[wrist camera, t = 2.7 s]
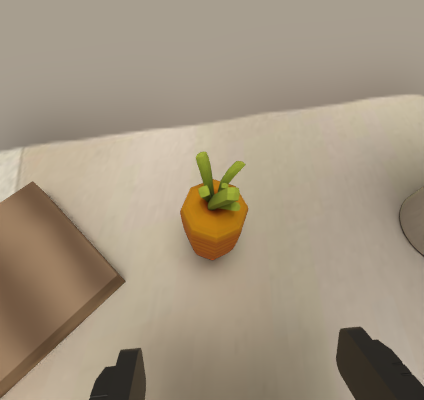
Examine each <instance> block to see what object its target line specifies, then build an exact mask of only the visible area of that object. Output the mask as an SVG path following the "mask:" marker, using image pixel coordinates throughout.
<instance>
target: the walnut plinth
mask: <svg viewBox="0 0 424 400" xmlns="http://www.w3.org/2000/svg"><path fill="white" fill-rule="evenodd" d="M124 282H125V280H124V279H123V278H122V277H121V276H120V275H119V274H118V273H117V272H116V270H115V269H114V268H113V267H112V266H111V265H110V264H109V263H108V262H107V261H106V259H105V258H104V257H103V256H102V255H101V254H100V253H99V252H98V251H97V250H96V248H95V247H94V246H93V245H92V244H91V243H90V242H89V241H88V240H87V238H86V237H85V236H84V235H83V234H82V233H81V232H80V231H79V230H78V229H77V227H76V226H75V225H74V224H73V223H72V222H71V221H70V220H69V219H68V218H67V216H66V215H65V214H64V213H63V212H62V211H61V210H60V209H59V208H58V206H57V205H56V204H55V203H54V202H53V201H52V200H51V199H50V198H49V197H48V195H47V194H46V193H45V192H43V191H42V190H41V189H40V188H39V187H38V186H37V185H36V184H35V183H34V182H33V181H32V182H31V183H29V184H28V185H26V186H25V187H23V188H22V189H20V190H19V191H17V192H16V193H14V194H13V195H11V196H10V197H8V198H7V199H5V200H4V201H2V202H1V203H0V398H1V397H2V396H3V395H4V394H6V393H7V392H8V391H9V390H10V389H11V388H12V387H13V386H14V385H15V384H16V383H17V382H18V381H19V380H21V379H22V378H23V377H24V376H25V375H26V374H27V373H28V372H29V371H30V370H31V369H32V368H33V367H34V366H36V365H37V364H38V363H39V362H40V361H41V360H42V359H43V358H44V357H45V356H46V355H47V354H48V353H49V352H51V351H52V350H53V349H54V348H55V347H56V346H57V345H58V344H59V343H60V342H61V341H62V340H63V339H64V338H66V337H67V336H68V335H69V334H70V333H71V332H72V331H73V330H74V329H75V328H76V327H77V326H78V325H79V324H81V323H82V322H83V321H84V320H85V319H86V318H87V317H88V316H89V315H90V314H91V313H92V312H93V311H94V310H96V309H97V308H98V307H99V306H100V305H101V304H102V303H103V302H104V301H105V300H106V299H107V298H108V297H109V296H110V295H112V294H113V293H114V292H115V291H116V290H117V289H118V288H119V287H120V286H121V285H122V284H123V283H124Z"/></svg>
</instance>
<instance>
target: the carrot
mask: <svg viewBox="0 0 424 400" xmlns="http://www.w3.org/2000/svg"><path fill="white" fill-rule="evenodd" d="M196 160H197V164H198V167H199V170H200V173H201V177H202V180H203V183H202V184H199V185H197V186H194V187H192V188H190V190H189V193H188V195H187V197H186V199H185V202H184V204H183V206H182V208H181V211H180V214H181V219H182V223H183V226H184V230H185V233H186V235H187V237H188V239H189V241H190V243H191V245H192V248H193V250H194V251H195V253H196V254H197V255H199V256H202V257H204V258H207V259H210V260H214V259H216V258H218V257H220V256H223V255H225V254H226V253H228V252H230V251H231V250H232V249H233V248H234V246H235V244H236V242H237V240H238V238H239V236H240V234H241V230H242V227H243V224H244V221H245V218H246V215H247V212H248V206H247V205H246V203H245V201H244V200H243V198H242V196H241V195H240V192H239V188H236V186H233V185H230V184H229V182H230V181H231V180H232V179H233V178H234V176H235V175H236V174H237V173H238V172H239V171H240V170H241V169H242V168H243V167H244V166H245V164H244V163H243V162H242V161H236V162H235V163H234V164H233V165H232V166H231V167H230V168H229V169H228V171H227V172H226V173H225V175H224V176H223V178H222V180H221V181H217V180H214V179H212V172H211V165H210V161H209V157H208V155H207V153H206V152H200V153H199V154H198V155H197V156H196Z"/></svg>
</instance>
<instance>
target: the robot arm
mask: <svg viewBox="0 0 424 400" xmlns="http://www.w3.org/2000/svg"><path fill="white" fill-rule="evenodd" d="M400 221H401V226H402V228H403V231H404V233H405V235H406V237H407V238H408V240H409V241H410V243H411V244H412V245H413V246H414V247H415V248H416V249H417V250H418V251H419V252H420V253H421V254H423V255H424V187H422V188H421V189H420V190H418V191H417V192H415V193H414V194H413V195H411V196H410V197H409V198H407V199H406V200H405V201H404V203H403V204H402V207H401V210H400ZM336 362H337V366H338V370H339V372H340V374H341V376H342V378H343V380H344V381H345V383H346V385H347V386H348V388H349V390H350V391H351V393H352V395H353V396H354V398H355V400H424V386H423V385H422V384H421V383H420V382H419V381H418V380H417V378H416V377H415V376H414V375H412V374H411V372H410V370H409V369H408V368H407V367H406V366H405V365H403V363H402V361H401V360H400V359H399V358H398V357H397V355H396V354H395V353H394V352H393V351H392V350H391V349H390V348H388V347H387V346H386V345H384V344H383V343H381V342H380V341H379V340H372V339H371V338H370V336H369V335H368V334H367V333H366V331H365V330H364V329H363V328H361V327H352V328H342V329H340V332H339V339H338V347H337V355H336ZM145 392H146V377H145V370H144V363H143V356H142V350H141V348H135V349H125V350H121V351H120V353H119V356H118V360H117V363H116V366H111V367H105V369H104V370H103V371H102V373H101V374H100V375H99V377H98V378H97V379H96V380H95V383H94V386H93V389H92V392H91V395H90V399H89V400H145Z"/></svg>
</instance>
